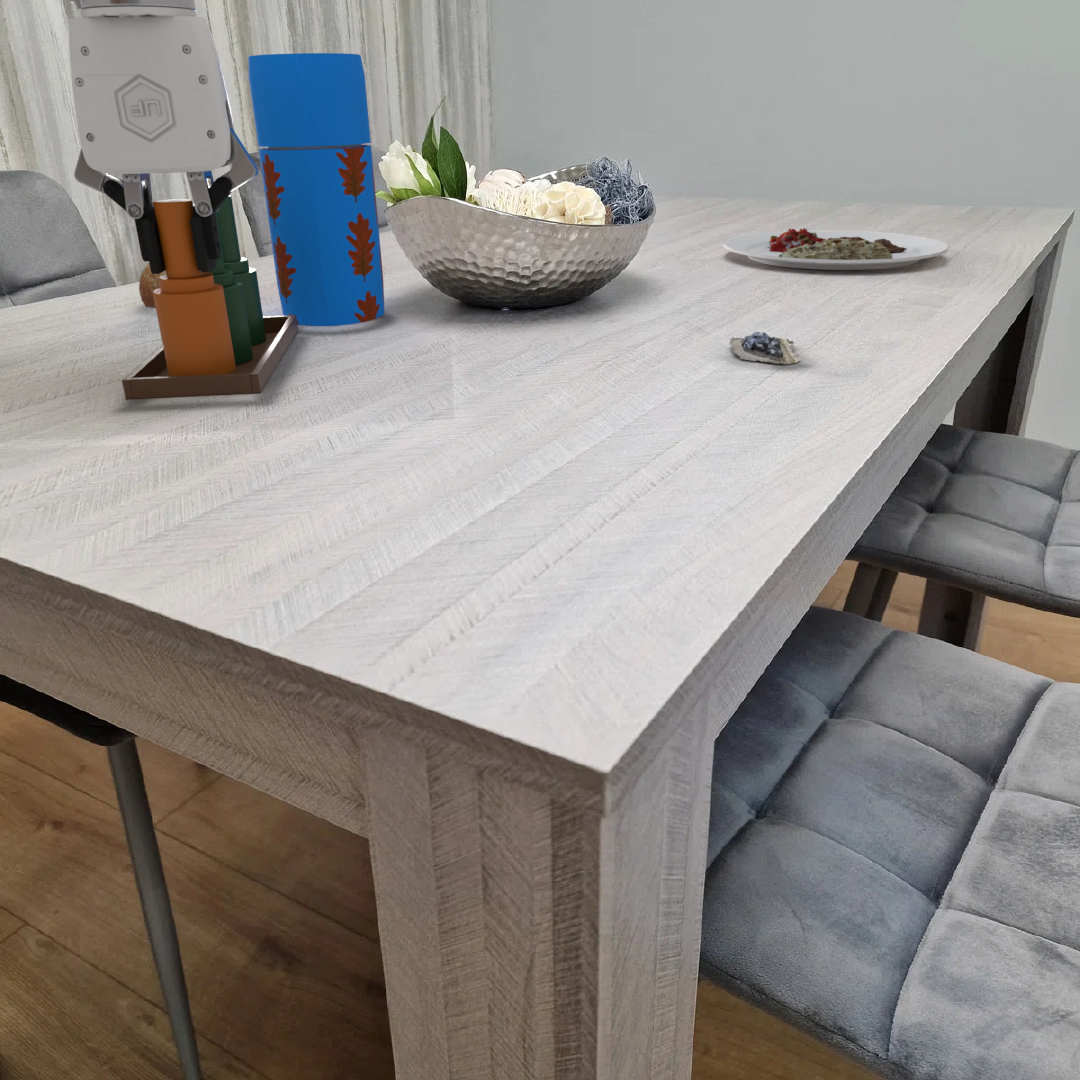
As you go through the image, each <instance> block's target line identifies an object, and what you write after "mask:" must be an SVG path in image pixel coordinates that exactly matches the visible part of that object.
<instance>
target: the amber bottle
mask: <svg viewBox="0 0 1080 1080" xmlns="http://www.w3.org/2000/svg"><path fill="white" fill-rule="evenodd" d="M193 203H194V202H193V199H190V198H170V199H169V198H168V199H158V200H154V201H153V207H154V211H155V217H156V222H157V228H158V233H159V239H160V244H161V249H162V255H163V260H164V266H165V271H166V275H163V276H160V277H159V284H160V288H158V289H156V290H154V291H153V296H154V302H155V307H154V308H155V311H156V317H157V321H158V327H159V332H160V333H159V334H160V336H161V342H162V344H163V348H164V354H165V359H166V364H167V369H168V374H169V376H185V375H207V374H228V373H230V372H232V371H234V370H235V368H236V365H235V359H234V353H233V346H232V340H231V334H230V328H229V321H228V315H227V309H226V303H225V297H224V290H223V286H222V285H219V284H214V278H213V274H212V273H209V272H201V271H199V270H198V265H197V259H196V253H195V248H194V242H193V236H192V230H191V224H190V219H192V217H194V212H193Z"/></svg>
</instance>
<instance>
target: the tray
mask: <svg viewBox="0 0 1080 1080" xmlns="http://www.w3.org/2000/svg"><path fill="white" fill-rule="evenodd" d="M263 321H264V328H265V334H266V341H265V342H263V343H261V344H258V345H255V346H252V352H253V359H252V360H251V361H249V362H246V363H243V364H240V365H236V368H235V370H234V371H232V372H230V373H228V374H207V375H185V376H169V374H168V369H167V364H166V359H165V354H164V348H163V343H162V344H161V345H160V346H158V347H157V348H156V349H155V350H154V351H153V352H152V353H151V354H150V355H149V356H147V357H146V358H145V359H144V360H143V361H142V362H141V363H140V364H138V365H137V366H136V367H135V368H133V370H132V371H131V372H129V373H128V374H127V375H126V376H125V377H123V378H122V379H121V383H122V389H123V393H124V397H125V401H129V400H131V401H132V400H150V399H151V400H152V399H153V400H155V399H170V398H171V399H172V398H194V397H196V398H197V397H216V396H217V397H218V396H234V395H235V396H236V395H237V396H238V395H259V394H262V392H263V390H264V389H265V387H266V385H267V384H268V382H269V381H270V380H271V377H272V376H273V374H274V373H275V371H276V369H277V367H278V365H279V364H280V363H281V361H282V359H283V357H284V356H285V354H286V352H287V351H288V349H289V347H290V346H291V344H292V342H293V341H294V339H295V337H296V336H297V334H298V333H299V325H298V324H297V317H296V315H291V316H283V315H269V316H268V315H267V316H266V315H265V316H263Z"/></svg>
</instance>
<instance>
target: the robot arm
mask: <svg viewBox="0 0 1080 1080" xmlns="http://www.w3.org/2000/svg"><path fill="white" fill-rule="evenodd" d="M68 1H69V2H70V3H74V5H75V6H76V9H77V10H80V16H81V17H69V18H68V48H69V49H68V51H69V64H70V75H71V77H70V78H71V86H72V94H73V102H74V108H75V109H74V111H75V117H76V124H77V131H78V137H79V143H80V145H81V146H80V147H81V148H80V152H79V156H78V159H77V163H76V166H75V170H74V173H73V176H74V179H75V180H76V181H77V182H78V183H80V184H82V185H84V186H86V187H89V188H90V189H93V190H95V191H98V192H100V193H103V194H105V195H106V196H107V197H108V198H110V199H111V200H112V201H113V202H114V203H115V204H116V205H118V206H119V207H120V208H122V209H123V210H124V211H125V212H126V214H127V215H128V217H129V218H131V219H134V224H135V229H136V235H137V240H138V245H139V250H140V255H141V259H142V261H144V262H148V263H149V264H150V270H151V273H152V274H160V273H162V272H163V271H165V266H164V260H163V255H162V249H161V244H160V239H159V233H158V228H157V222H156V217H155V211H154V206H153V202H154V201H153V190H152V181H151V174H173V173H174V174H175V173H178V174H180V173H185V174H186V178H187V183H188V185H189V190H190V194H191V198H192V202H193V203H194V206H195V207H194V208H193V212H194V217H192V219H190V224H191V230H192V236H193V242H194V248H195V253H196V259H197V265H198V270H199V271H201V272H210V271H211V270H212V269H214V268H215V267H216V259H220V258H221V247H220V241H219V234H218V228H217V222H216V215H215V213H216V212H217V211H218V210H219V208H220V206H221V205H222V204H223V202H224V201H225V200H226V199H227V197H228V196H229V195H230V196H231V194H232V193H233V191H234V190H236V189H238V188H240V187H241V186H243V185H244V184H246V183H248V182H249V181H251V180H253V179H254V178H256V177H257V176H258V174H259V168H258V166H257V165H256V163H255V162H254V160H253V158H252V157H251V155H250V154H249V151H247V149H246V147H245V145H244V144H243V142H242V141H241V139H240V138H239V136H238V134H237V133H236V130H235V125H234V119H233V115H232V108H231V105H230V104H231V103H230V100H229V95H228V91H227V87H226V83H225V78H224V75H223V74H224V73H223V70H222V66H221V61H220V58H219V54H218V52H217V48H216V45H215V41H214V38H213V35H212V31H211V29H210V26H209V23H208V21H207V19H206V18H205V17H201V16H198V15H197V9H196V2H195V0H68ZM229 165H231V168H230V170H228V171H227V172H226V173H224V174H222V175H220V176H219V177H217V178H216V179H215V180H214V176H213V171H215V170H217V169H220V168H225V167H227V166H229ZM112 175H121V177H122V179H121V178H116V177H114V176H112Z"/></svg>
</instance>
